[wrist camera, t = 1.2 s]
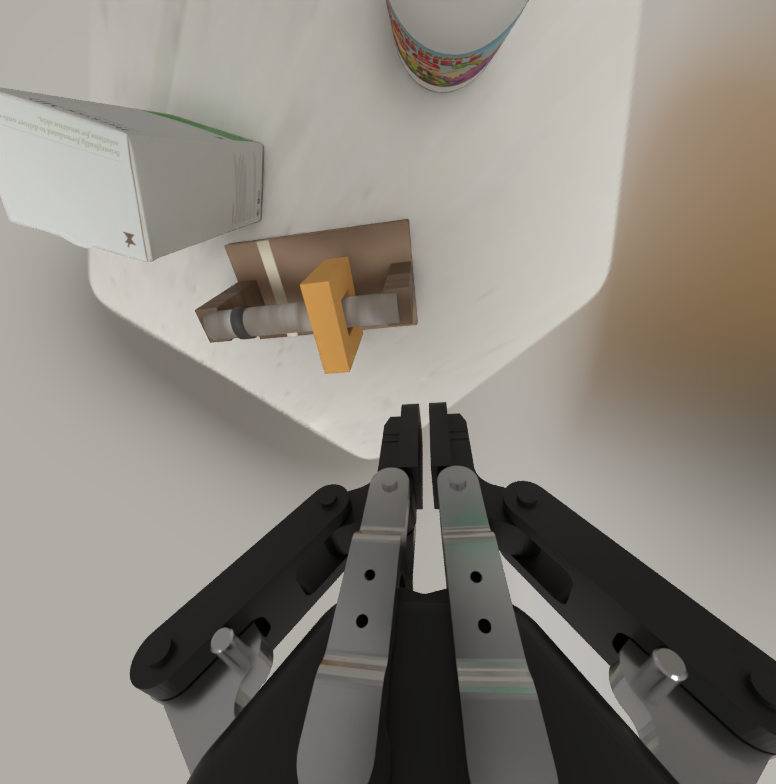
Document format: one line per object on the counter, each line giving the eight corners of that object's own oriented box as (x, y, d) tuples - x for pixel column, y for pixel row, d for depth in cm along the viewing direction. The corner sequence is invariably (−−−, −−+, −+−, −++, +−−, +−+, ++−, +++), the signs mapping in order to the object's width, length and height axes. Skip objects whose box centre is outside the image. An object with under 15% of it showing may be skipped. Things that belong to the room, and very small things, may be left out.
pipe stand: (229, 243, 33) (162, 271, 24) (408, 219, 30) (403, 240, 22) (263, 335, 38) (219, 383, 30) (417, 320, 36) (416, 369, 27)
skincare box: (265, 144, 28) (135, 129, 15) (262, 227, 32) (155, 270, 19) (165, 111, 27) (-59, 66, 15) (174, 200, 31) (2, 225, 18)
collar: (324, 259, 28) (299, 284, 22) (348, 256, 27) (328, 281, 22) (342, 335, 32) (324, 373, 26) (362, 333, 31) (349, 371, 25)
